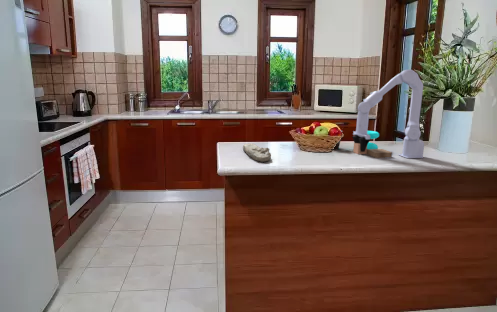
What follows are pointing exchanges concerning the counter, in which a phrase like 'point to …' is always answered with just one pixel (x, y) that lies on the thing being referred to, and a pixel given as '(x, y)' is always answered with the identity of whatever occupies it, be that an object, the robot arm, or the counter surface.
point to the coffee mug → (337, 145)
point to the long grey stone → (257, 152)
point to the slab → (379, 153)
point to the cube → (358, 149)
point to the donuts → (372, 136)
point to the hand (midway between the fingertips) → (359, 150)
